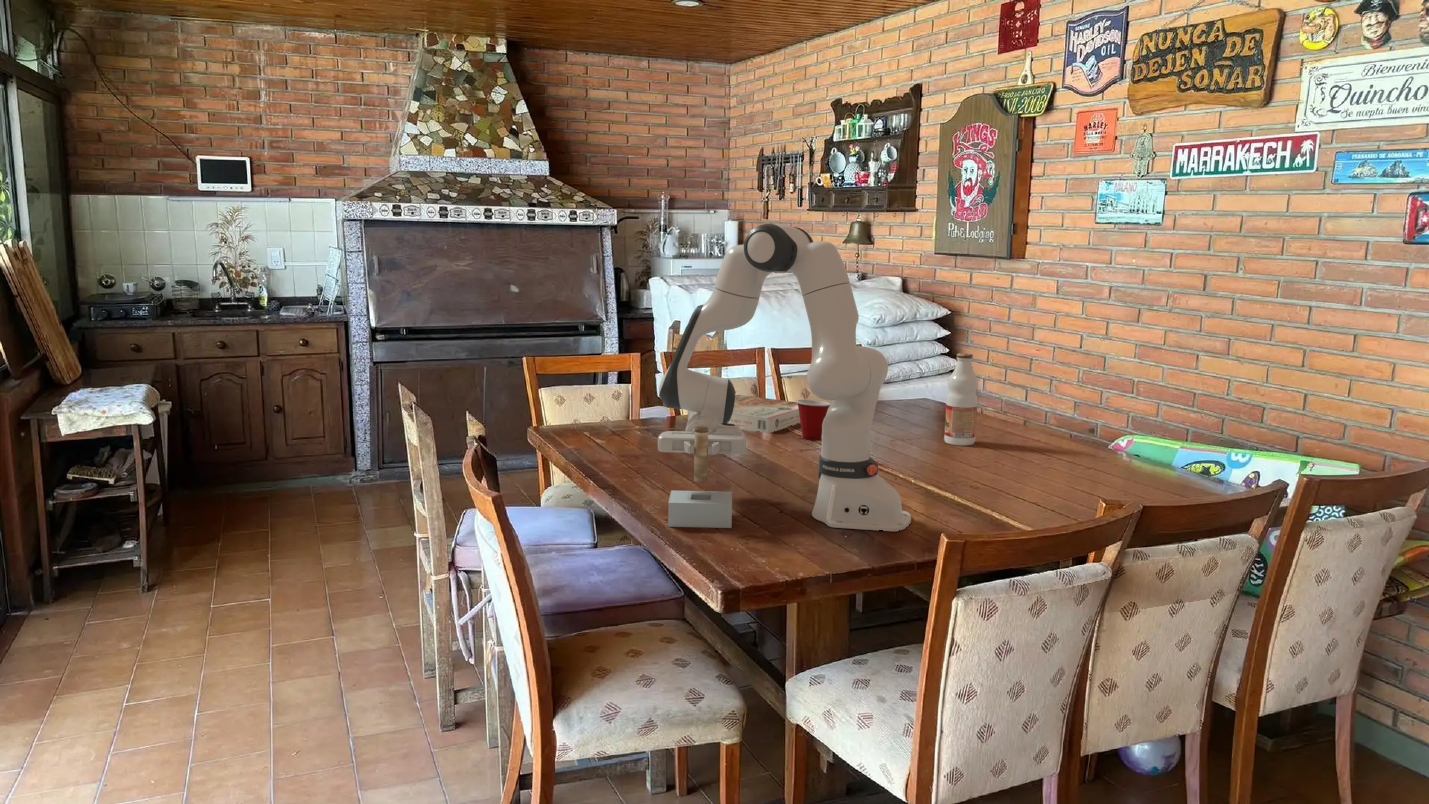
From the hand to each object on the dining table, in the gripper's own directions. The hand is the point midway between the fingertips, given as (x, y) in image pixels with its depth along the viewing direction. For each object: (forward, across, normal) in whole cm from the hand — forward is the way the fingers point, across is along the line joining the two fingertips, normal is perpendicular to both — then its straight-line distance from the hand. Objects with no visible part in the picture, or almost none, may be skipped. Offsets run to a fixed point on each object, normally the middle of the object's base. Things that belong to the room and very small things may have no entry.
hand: (701, 450), depth 215 cm
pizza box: (-118, +14, +18) cm, 120 cm away
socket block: (-1, 0, +16) cm, 16 cm away
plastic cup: (-90, +33, +17) cm, 97 cm away
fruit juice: (-87, +78, +16) cm, 118 cm away
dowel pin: (-1, 0, +7) cm, 7 cm away
